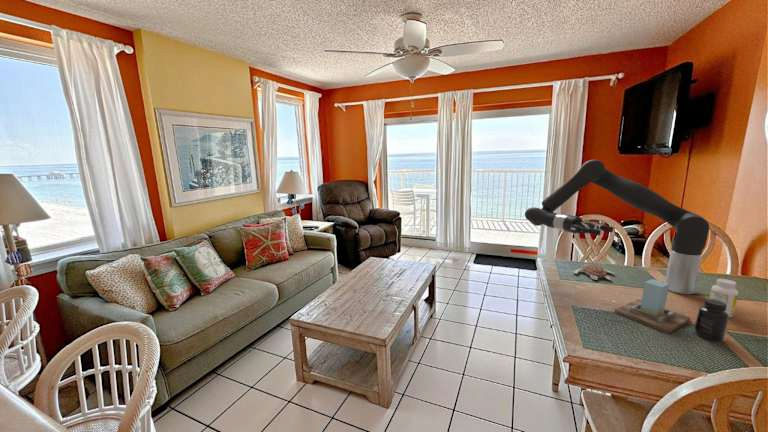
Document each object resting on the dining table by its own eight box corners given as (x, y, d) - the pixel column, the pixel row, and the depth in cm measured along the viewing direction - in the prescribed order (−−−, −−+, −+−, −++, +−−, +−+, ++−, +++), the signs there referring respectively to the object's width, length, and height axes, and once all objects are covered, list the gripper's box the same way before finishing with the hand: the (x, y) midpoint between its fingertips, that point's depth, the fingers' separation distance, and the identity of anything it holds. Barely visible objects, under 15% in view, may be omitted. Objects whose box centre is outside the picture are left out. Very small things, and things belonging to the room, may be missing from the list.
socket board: (637, 301, 123) (638, 295, 123) (690, 320, 109) (691, 314, 108) (614, 311, 116) (615, 305, 116) (667, 333, 102) (668, 326, 102)
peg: (647, 308, 116) (652, 279, 113) (663, 314, 111) (669, 284, 109) (639, 311, 114) (644, 281, 111) (656, 318, 109) (661, 287, 107)
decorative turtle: (603, 268, 157) (604, 259, 156) (624, 282, 141) (625, 272, 140) (565, 268, 159) (566, 259, 158) (582, 282, 143) (583, 272, 142)
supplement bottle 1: (725, 310, 115) (732, 278, 113) (738, 319, 109) (746, 286, 106) (702, 307, 117) (709, 276, 115) (713, 316, 111) (721, 283, 109)
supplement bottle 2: (730, 343, 97) (738, 308, 94) (704, 341, 98) (712, 307, 95) (712, 330, 103) (719, 298, 101) (688, 328, 105) (694, 296, 102)
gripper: (557, 217, 134) (596, 224, 119) (578, 213, 140) (617, 220, 125) (556, 233, 135) (594, 243, 121) (576, 229, 141) (615, 237, 127)
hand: (606, 231), depth 123 cm, fingers open, 8 cm apart
